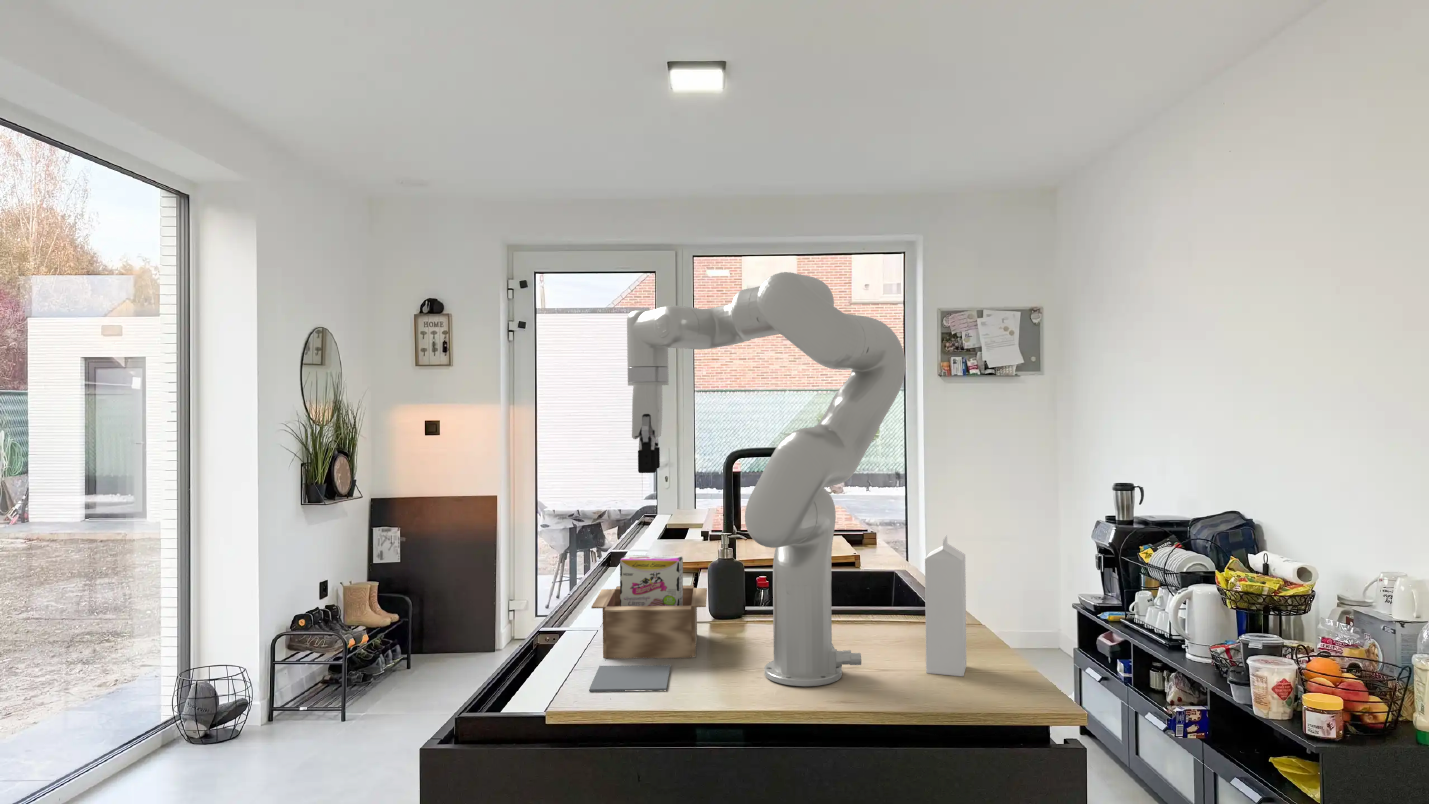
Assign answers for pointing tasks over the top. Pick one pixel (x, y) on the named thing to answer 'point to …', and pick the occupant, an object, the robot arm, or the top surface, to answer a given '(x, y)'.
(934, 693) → the top surface
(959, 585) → the milk
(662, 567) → the candy bar box
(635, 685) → the mat
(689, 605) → the open wooden box
